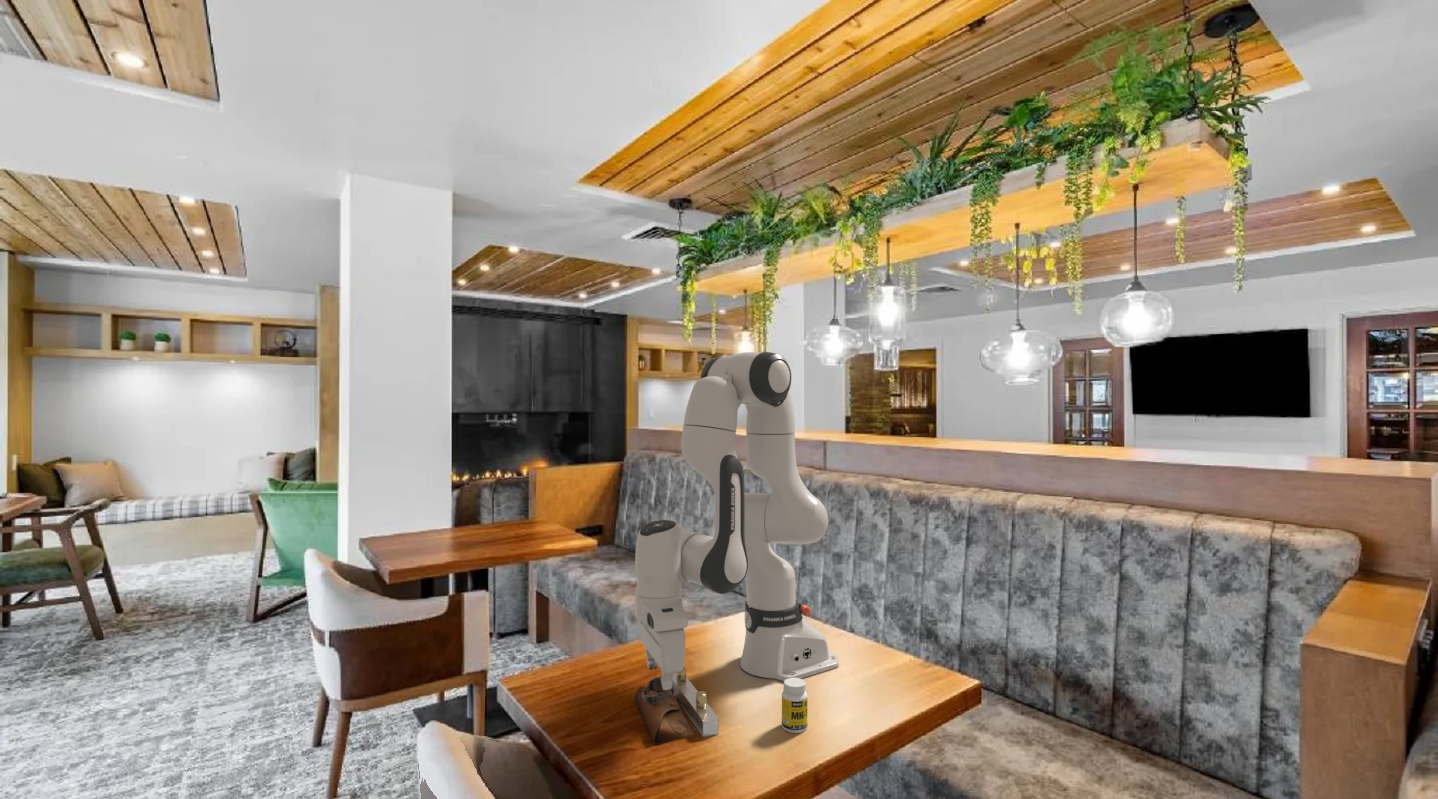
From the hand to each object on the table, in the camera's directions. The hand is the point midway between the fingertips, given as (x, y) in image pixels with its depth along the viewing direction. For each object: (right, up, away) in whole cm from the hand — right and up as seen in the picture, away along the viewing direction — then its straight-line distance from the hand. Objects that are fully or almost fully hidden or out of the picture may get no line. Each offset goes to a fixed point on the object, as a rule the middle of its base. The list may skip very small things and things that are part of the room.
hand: (659, 677), depth 125 cm
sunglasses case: (+1, -8, -1) cm, 8 cm away
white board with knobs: (+6, -7, +2) cm, 10 cm away
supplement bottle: (+26, -7, -5) cm, 27 cm away
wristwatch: (+1, -3, -3) cm, 4 cm away
